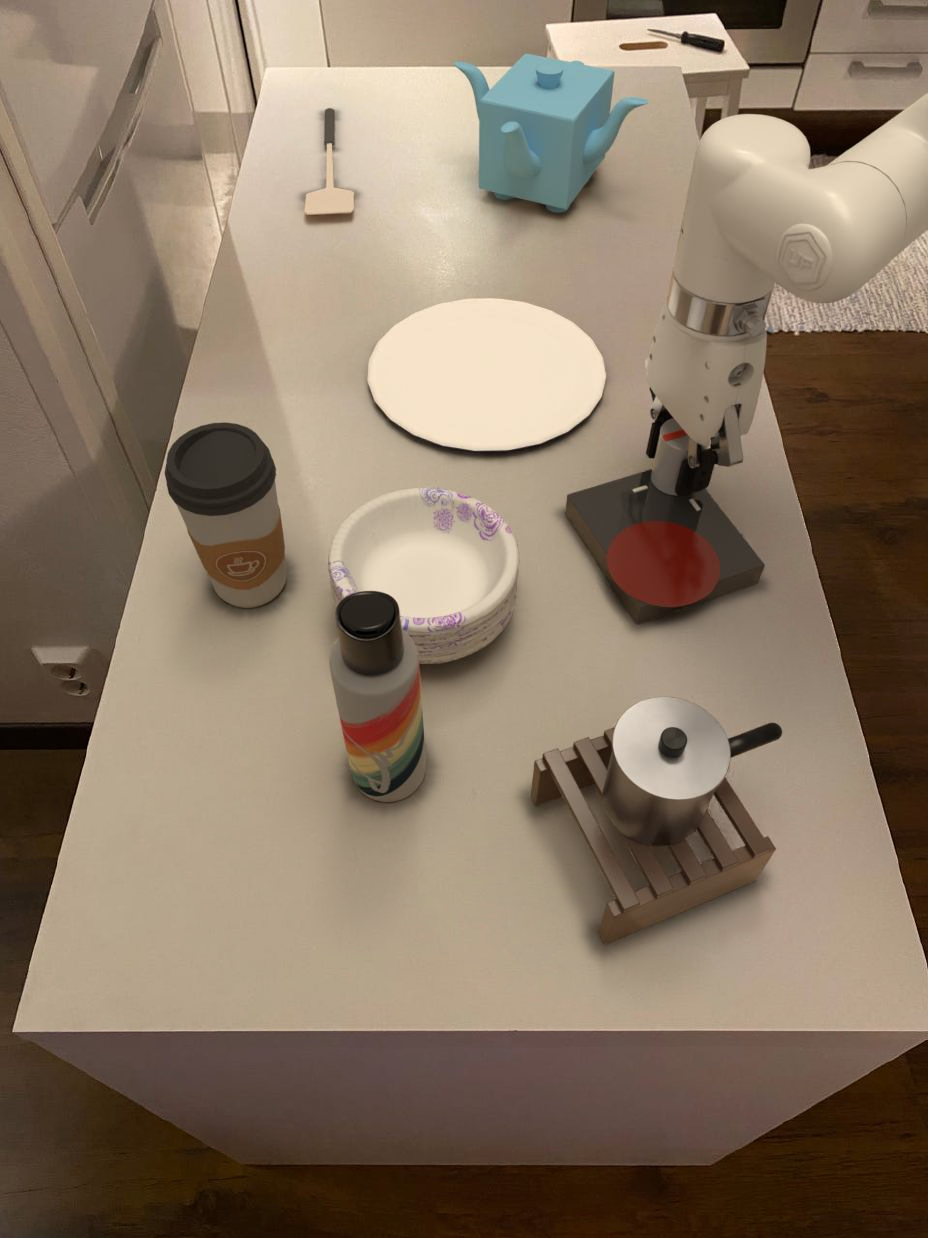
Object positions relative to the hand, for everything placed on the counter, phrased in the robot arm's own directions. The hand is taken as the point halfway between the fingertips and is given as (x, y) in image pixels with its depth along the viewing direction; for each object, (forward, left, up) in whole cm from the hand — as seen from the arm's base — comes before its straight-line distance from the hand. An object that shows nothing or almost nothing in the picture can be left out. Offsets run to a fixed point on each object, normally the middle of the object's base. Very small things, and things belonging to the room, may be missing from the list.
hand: (676, 469), depth 86 cm
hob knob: (0, 0, -1) cm, 1 cm away
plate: (+9, -23, -4) cm, 25 cm away
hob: (+3, +4, -4) cm, 6 cm away
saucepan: (+16, +29, +2) cm, 33 cm away
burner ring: (+6, +9, -1) cm, 10 cm away
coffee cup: (+39, -5, -4) cm, 40 cm away
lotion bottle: (+34, +17, -4) cm, 38 cm away
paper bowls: (+26, +4, -4) cm, 27 cm away
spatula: (+11, -72, -4) cm, 73 cm away
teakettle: (-12, -55, -4) cm, 56 cm away
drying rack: (+19, +29, -4) cm, 35 cm away
